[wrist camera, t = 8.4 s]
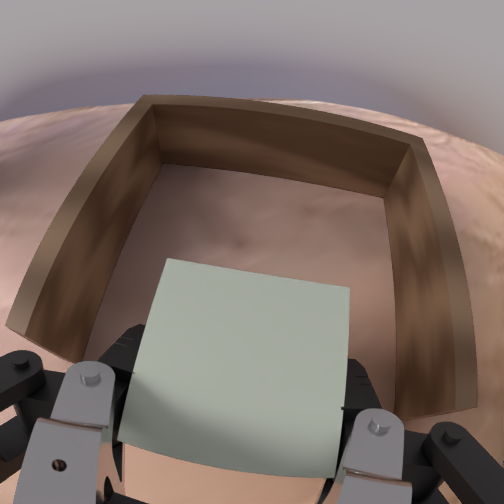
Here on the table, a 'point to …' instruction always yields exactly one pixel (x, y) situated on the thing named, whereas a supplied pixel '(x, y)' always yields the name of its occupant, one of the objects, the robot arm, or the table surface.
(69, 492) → the robot arm
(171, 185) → the table surface
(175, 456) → the sage block
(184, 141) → the walnut u-shaped frame
